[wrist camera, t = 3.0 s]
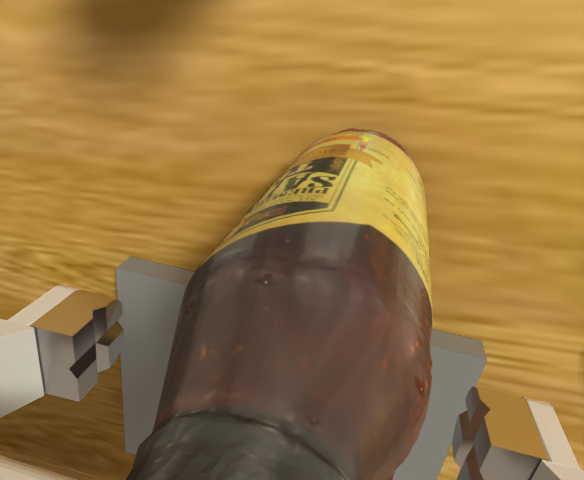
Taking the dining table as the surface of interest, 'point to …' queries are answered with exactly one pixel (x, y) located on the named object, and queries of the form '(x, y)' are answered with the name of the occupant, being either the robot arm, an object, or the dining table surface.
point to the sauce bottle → (305, 329)
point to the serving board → (158, 342)
